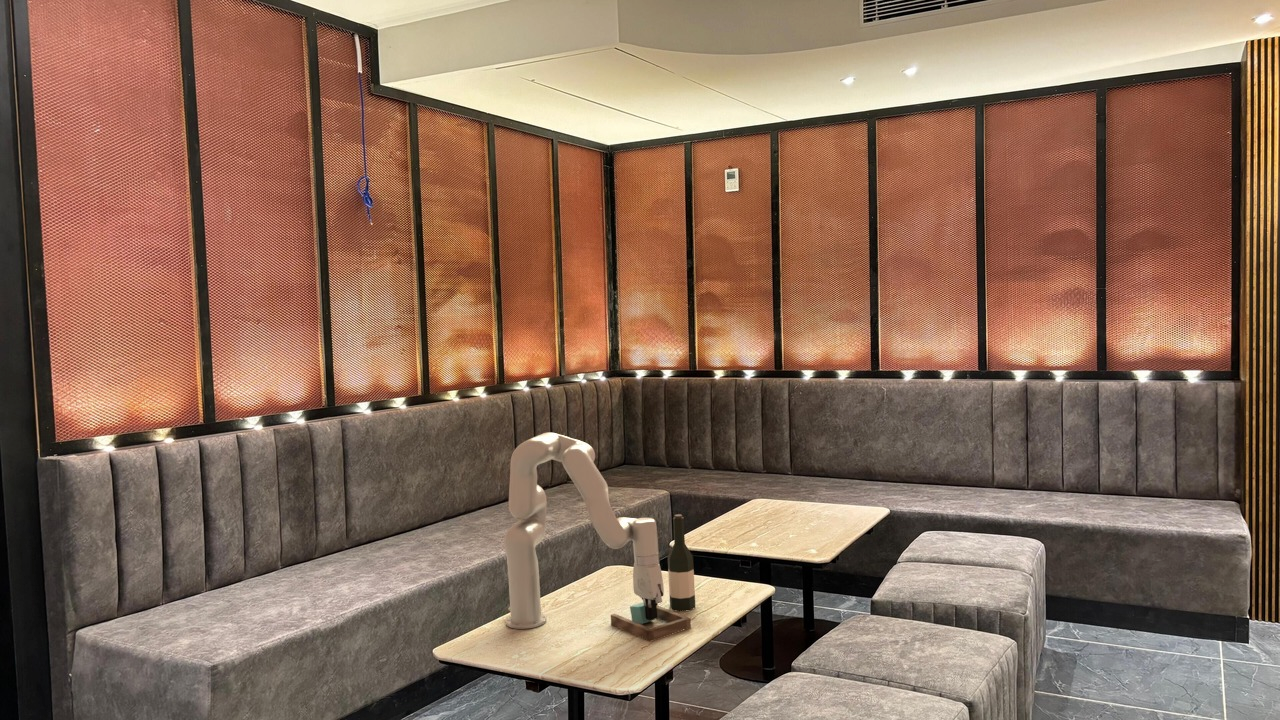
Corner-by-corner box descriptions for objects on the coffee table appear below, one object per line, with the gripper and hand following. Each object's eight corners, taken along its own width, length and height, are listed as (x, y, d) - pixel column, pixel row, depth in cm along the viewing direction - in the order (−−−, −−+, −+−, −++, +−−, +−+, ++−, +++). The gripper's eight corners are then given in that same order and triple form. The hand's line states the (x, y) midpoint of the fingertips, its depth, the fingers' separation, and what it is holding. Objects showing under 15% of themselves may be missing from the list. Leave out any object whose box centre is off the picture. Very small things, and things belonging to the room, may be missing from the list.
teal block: (632, 622, 270) (629, 606, 270) (644, 618, 273) (642, 602, 273) (642, 623, 266) (639, 607, 266) (655, 619, 269) (652, 603, 270)
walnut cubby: (611, 624, 269) (610, 614, 269) (650, 612, 278) (650, 602, 278) (650, 641, 253) (649, 631, 253) (690, 627, 263) (690, 618, 263)
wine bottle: (667, 611, 279) (662, 518, 277) (672, 602, 287) (668, 512, 285) (693, 611, 277) (688, 518, 275) (697, 603, 285) (693, 512, 283)
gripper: (622, 558, 269) (627, 616, 270) (651, 566, 257) (656, 627, 258) (642, 552, 274) (647, 610, 274) (671, 560, 262) (676, 621, 262)
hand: (651, 618), depth 266 cm, fingers closed
